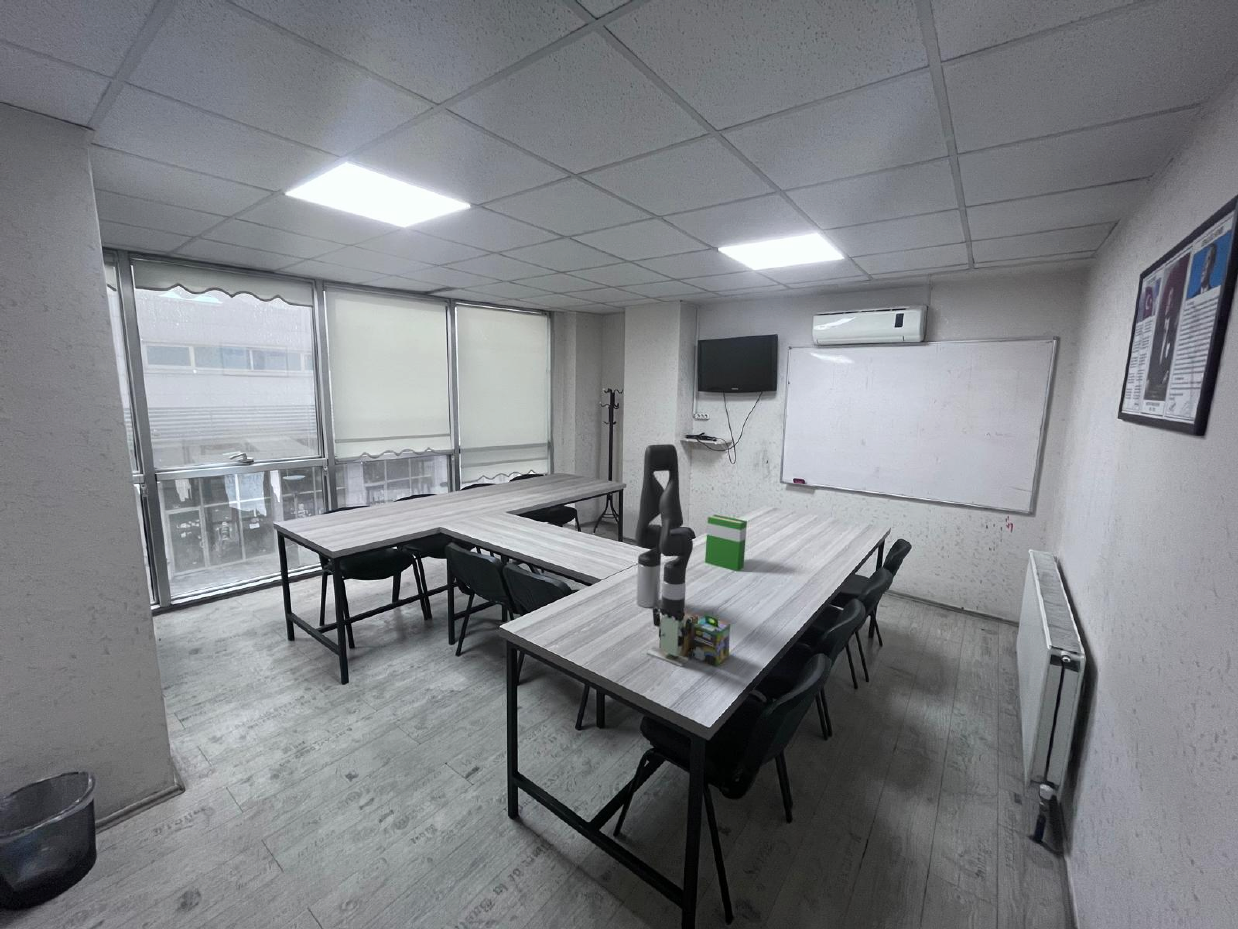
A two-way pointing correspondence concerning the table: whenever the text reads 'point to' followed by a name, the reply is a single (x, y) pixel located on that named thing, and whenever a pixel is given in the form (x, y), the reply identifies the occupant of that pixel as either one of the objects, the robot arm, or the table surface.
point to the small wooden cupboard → (686, 648)
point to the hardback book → (726, 542)
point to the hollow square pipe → (670, 636)
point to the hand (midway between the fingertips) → (671, 642)
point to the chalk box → (711, 640)
